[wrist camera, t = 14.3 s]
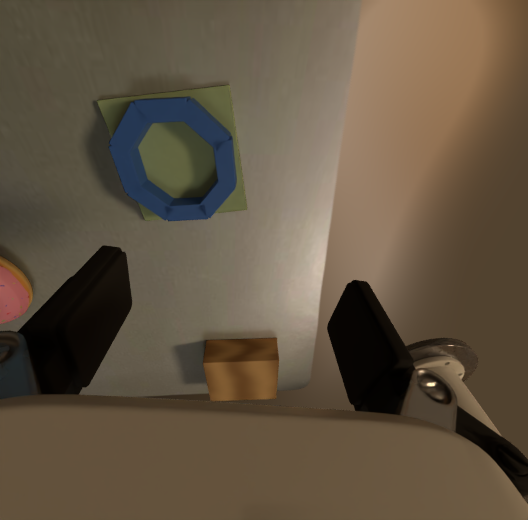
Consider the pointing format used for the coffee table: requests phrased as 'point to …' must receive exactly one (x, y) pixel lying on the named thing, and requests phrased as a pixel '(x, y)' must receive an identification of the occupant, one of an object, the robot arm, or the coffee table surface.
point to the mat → (182, 148)
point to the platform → (241, 369)
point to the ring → (132, 166)
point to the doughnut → (13, 291)
